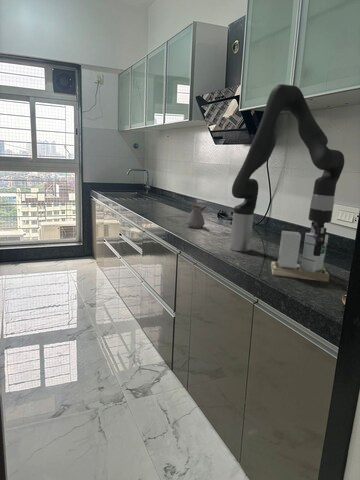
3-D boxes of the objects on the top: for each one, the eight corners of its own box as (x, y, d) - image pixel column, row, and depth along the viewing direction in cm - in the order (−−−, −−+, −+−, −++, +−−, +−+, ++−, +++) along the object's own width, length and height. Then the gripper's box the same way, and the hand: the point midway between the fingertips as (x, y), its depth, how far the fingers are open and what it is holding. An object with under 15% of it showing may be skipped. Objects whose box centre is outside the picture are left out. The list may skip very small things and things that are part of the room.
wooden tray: (270, 270, 136) (271, 261, 135) (322, 276, 133) (323, 267, 132) (272, 278, 127) (273, 268, 126) (327, 284, 123) (329, 274, 123)
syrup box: (313, 275, 125) (320, 235, 122) (299, 270, 129) (305, 231, 126) (323, 273, 128) (329, 234, 125) (308, 268, 133) (314, 231, 130)
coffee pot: (183, 225, 222) (185, 201, 219) (200, 225, 225) (202, 202, 222) (194, 232, 202) (196, 206, 199) (212, 232, 205) (215, 206, 202)
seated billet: (276, 269, 134) (281, 230, 131) (293, 271, 133) (298, 232, 130) (278, 273, 128) (283, 233, 125) (295, 275, 127) (301, 235, 124)
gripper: (307, 204, 131) (300, 247, 135) (314, 209, 117) (306, 256, 121) (328, 206, 130) (321, 249, 133) (337, 211, 116) (329, 259, 120)
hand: (314, 252), depth 127 cm, fingers closed on syrup box, 8 cm apart
